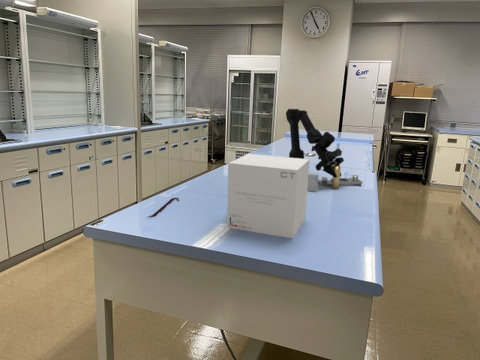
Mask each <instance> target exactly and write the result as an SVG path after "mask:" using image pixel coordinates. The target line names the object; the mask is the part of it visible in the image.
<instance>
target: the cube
mask: <svg viewBox="0 0 480 360" xmlns="http://www.w3.org/2000/svg"><path fill="white" fill-rule="evenodd" d="M227 167H228V168H227V171H228V172H227V209H226V212H227V213H226V215H227V217H226V218H227V221H226V228H229V229H235V230H239V229H240V231H245V230H247V232H251V231H252V232H251V233H258V234H264V235H271V236H276V237H281V238H282V237H283V238H287V239H294V238H295V236H296V234H297V233H298V231H299V230H300V228H301V227H302V225H303V223H304V222H305V220H306V215H307V214H306V213H307V212H306V211H307V198H308V197H307V196H308V191H307V187H308V174H309V173H310V172H309V170H310V159H308V158H304V159H299V158H289V156H288V157H287V156H276V155H266V154H255V153H247V154H245V155H243V156H241V157H238V158H236V159H234V160H232V161H230V162H228V164H227Z"/></svg>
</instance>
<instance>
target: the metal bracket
mask: <svg viewBox="0 0 480 360" xmlns="http://www.w3.org/2000/svg"><path fill="white" fill-rule="evenodd" d="M332 179H333V177H331V178H330V179H328V177H327V176H321V180H320V179H318V185H319V186H321V187H327V186H328V187H332ZM362 184H363V181H362V180H361V179H359V175H357V174H353V175H352V177H340V180H339V187H340V186H341V187H353V186H358V187H360V186H362Z"/></svg>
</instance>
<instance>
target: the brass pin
mask: <svg viewBox="0 0 480 360" xmlns="http://www.w3.org/2000/svg"><path fill="white" fill-rule="evenodd" d="M341 168H342V167H341V165H339V166H334V168H333V169H334V171H335V173H336V175H337V177H336V178H335V177H333V176H332V178H333V179H332V186H331V189H332V190H339V189H340V186H339V180H340V178H341V177H340V172H341Z"/></svg>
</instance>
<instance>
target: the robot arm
mask: <svg viewBox="0 0 480 360" xmlns="http://www.w3.org/2000/svg"><path fill="white" fill-rule="evenodd" d="M285 116H286V121H287V122H288V124H289V129H290V145H291V149H290V151H289V154H288V157H289V158H299V159H305V152H304V150H302V148H301V142H300V130H299V129H300V128H299V123H301V124H302V126H303V128H304V130H305V132H306V139H307V141H308V143H309V144H310V145H312V146H311V152H315V153H316V155H317V159H318V160H320V161H319V162H318V163H317V164H316V165H315V170H316V171H321V170H322V172H324V173H327V174H328V175H330V176H332V178H333V177H335V178H336V177H337V175H336V173H335V171H334V169H333V168H334V166H341V164H342V163H343V162H344V161H345V159H344V157H341V156H342V154H343V151H342V150H341V148H335V150H333V151H331V150H329V147H330V146H331V145H332V144H333V143H334V142H335V140H336V137H335V136H334V135H333V134H331V133H330V132H329V131H325V132H324V133H323V134H322V133H321V131H320V130H318V129H317V128H315V126H314V123H312V120H311V118H310V117H309V114H308V112H307V110H306V109H305V110H303V109H301V110H300V109H299V108H288V109H287V110H286V112H285ZM322 168H323V169H322ZM340 178H342V172H341V171H340Z"/></svg>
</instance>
